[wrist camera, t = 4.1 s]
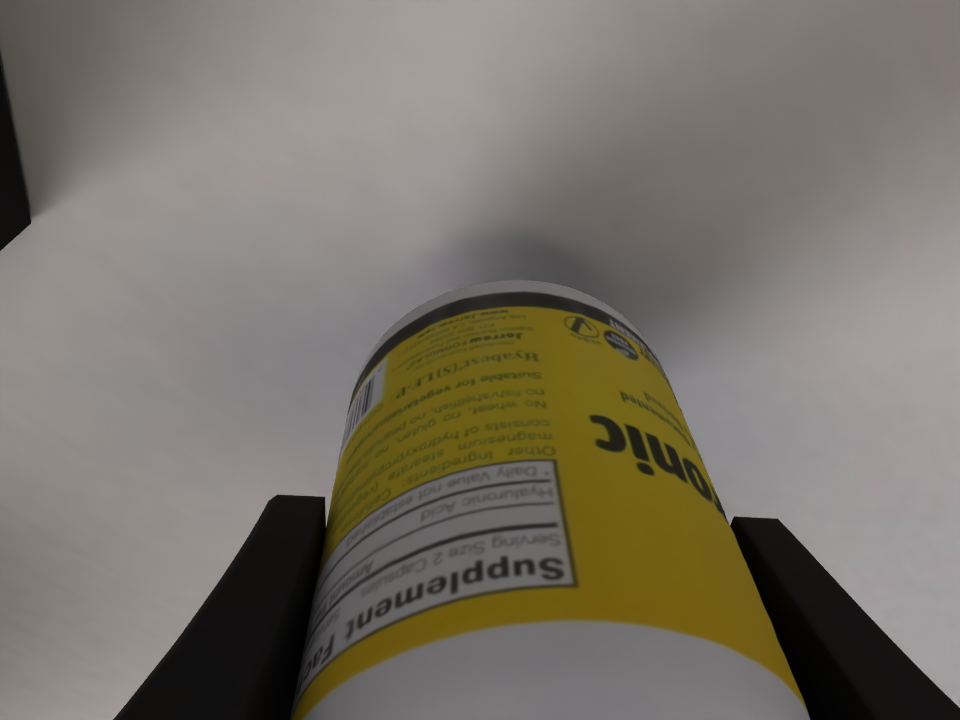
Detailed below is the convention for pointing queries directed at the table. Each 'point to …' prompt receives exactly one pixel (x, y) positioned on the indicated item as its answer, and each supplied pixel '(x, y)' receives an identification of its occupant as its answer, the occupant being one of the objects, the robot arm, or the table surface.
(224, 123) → the table surface
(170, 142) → the table surface
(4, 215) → the digital camera
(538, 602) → the supplement bottle
